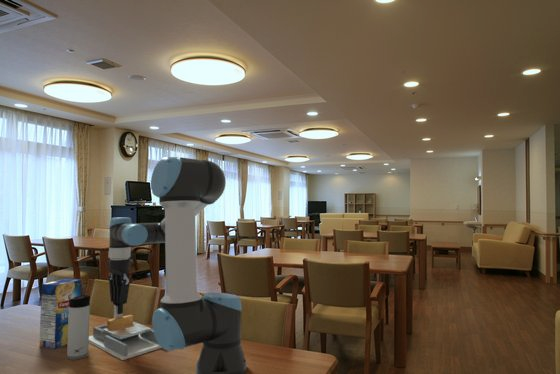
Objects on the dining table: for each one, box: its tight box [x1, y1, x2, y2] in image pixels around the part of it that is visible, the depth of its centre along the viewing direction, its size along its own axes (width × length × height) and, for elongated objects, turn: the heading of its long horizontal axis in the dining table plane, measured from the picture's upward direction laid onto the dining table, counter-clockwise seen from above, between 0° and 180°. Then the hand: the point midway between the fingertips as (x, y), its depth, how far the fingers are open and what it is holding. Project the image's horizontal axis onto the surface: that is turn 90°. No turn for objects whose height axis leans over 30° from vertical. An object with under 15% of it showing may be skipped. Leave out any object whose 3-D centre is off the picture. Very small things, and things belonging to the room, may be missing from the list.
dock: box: [89, 323, 163, 361], centre depth 139 cm, size 28×16×4 cm, turn 50°
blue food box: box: [39, 278, 82, 350], centre depth 140 cm, size 7×11×22 cm, turn 163°
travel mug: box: [66, 294, 91, 361], centre depth 128 cm, size 6×7×20 cm
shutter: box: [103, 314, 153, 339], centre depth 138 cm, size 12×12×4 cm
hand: (118, 322), depth 143 cm, fingers closed
